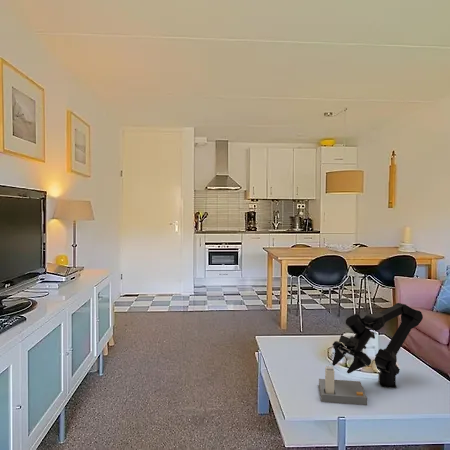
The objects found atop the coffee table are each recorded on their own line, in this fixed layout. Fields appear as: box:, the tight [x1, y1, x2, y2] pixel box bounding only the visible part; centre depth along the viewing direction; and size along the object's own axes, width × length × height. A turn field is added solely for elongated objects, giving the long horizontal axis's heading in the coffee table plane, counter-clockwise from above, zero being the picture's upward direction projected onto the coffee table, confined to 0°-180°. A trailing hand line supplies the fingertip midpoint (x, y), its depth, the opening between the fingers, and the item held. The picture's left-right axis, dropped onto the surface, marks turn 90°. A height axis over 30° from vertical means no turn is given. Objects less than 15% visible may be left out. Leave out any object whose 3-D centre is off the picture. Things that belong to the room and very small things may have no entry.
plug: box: [324, 365, 335, 394], centre depth 167 cm, size 3×3×13 cm
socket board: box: [318, 378, 368, 406], centre depth 171 cm, size 18×16×4 cm
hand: (340, 368), depth 169 cm, fingers open, 9 cm apart
